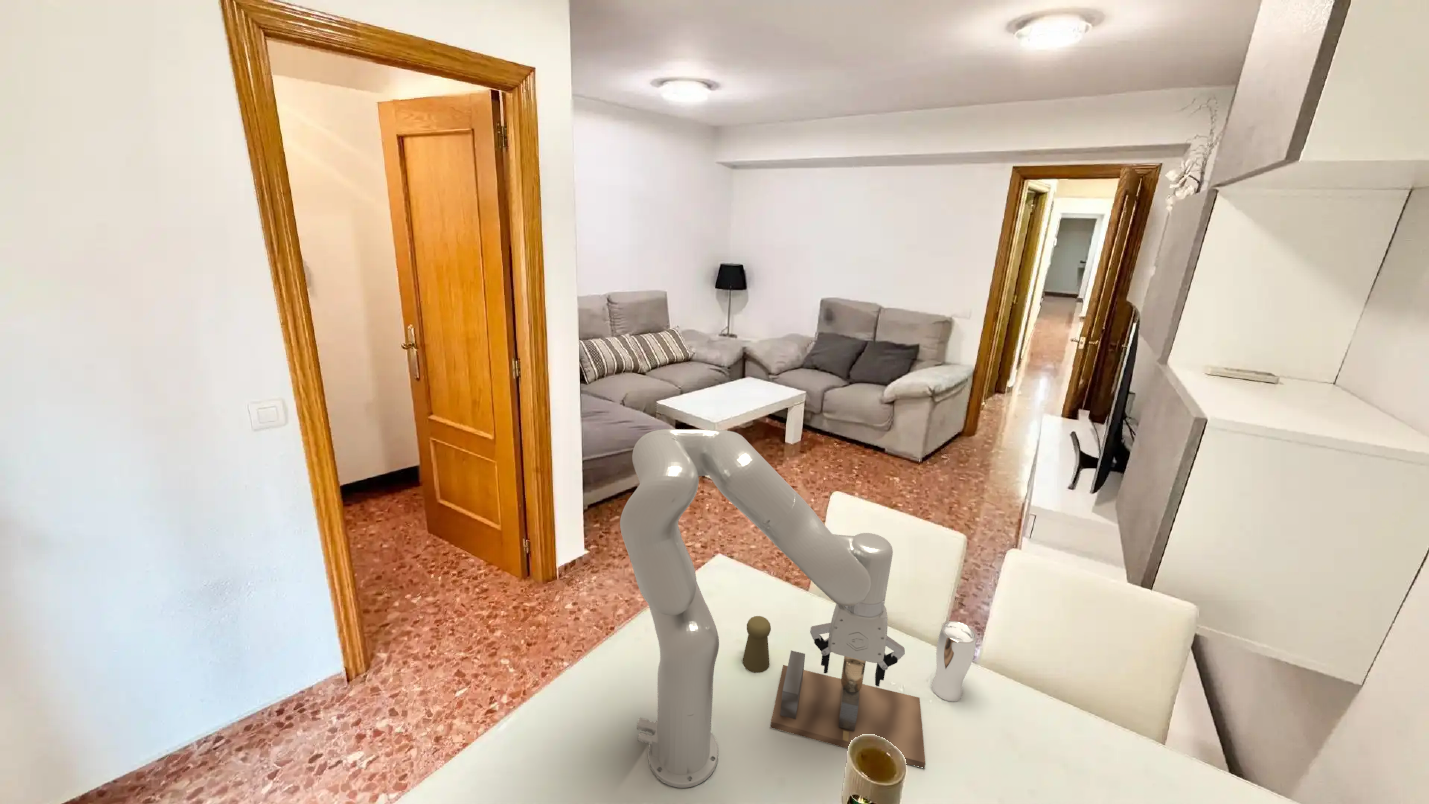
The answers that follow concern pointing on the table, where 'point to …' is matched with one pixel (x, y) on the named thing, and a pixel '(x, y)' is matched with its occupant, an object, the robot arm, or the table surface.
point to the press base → (815, 710)
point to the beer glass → (953, 659)
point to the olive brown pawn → (757, 645)
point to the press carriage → (850, 691)
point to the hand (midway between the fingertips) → (851, 674)
